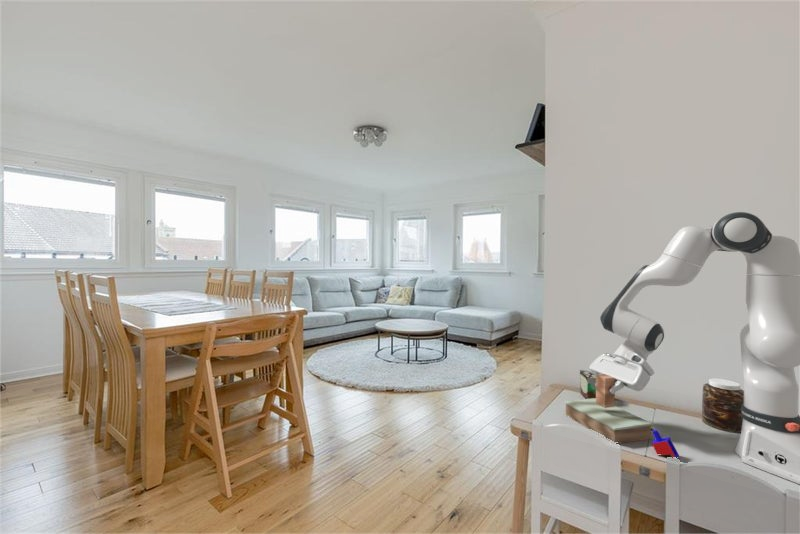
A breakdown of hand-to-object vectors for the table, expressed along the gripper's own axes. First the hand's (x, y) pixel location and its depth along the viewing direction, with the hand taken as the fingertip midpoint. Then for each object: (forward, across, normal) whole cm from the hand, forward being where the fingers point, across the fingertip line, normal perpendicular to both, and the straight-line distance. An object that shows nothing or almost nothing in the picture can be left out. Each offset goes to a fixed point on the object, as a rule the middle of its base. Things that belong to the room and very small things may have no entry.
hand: (603, 389), depth 126 cm
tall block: (+3, 0, +4) cm, 5 cm away
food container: (-2, -23, +20) cm, 31 cm away
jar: (-20, +9, +38) cm, 45 cm away
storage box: (+8, 0, +9) cm, 13 cm away
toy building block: (+7, +20, +11) cm, 24 cm away
